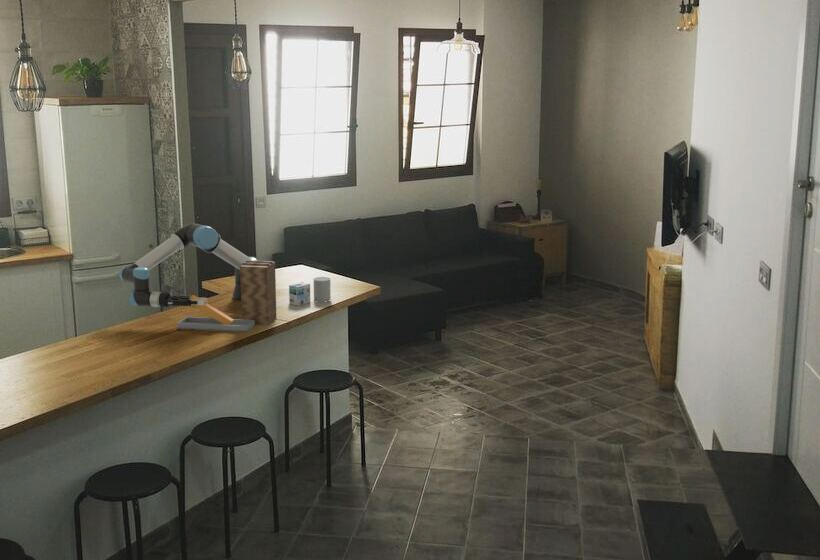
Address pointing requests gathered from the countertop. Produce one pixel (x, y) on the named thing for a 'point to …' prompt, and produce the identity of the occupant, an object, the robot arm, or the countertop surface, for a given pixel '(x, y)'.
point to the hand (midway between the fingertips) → (205, 301)
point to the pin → (213, 312)
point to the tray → (215, 324)
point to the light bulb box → (299, 293)
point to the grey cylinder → (322, 289)
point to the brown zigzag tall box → (258, 291)
